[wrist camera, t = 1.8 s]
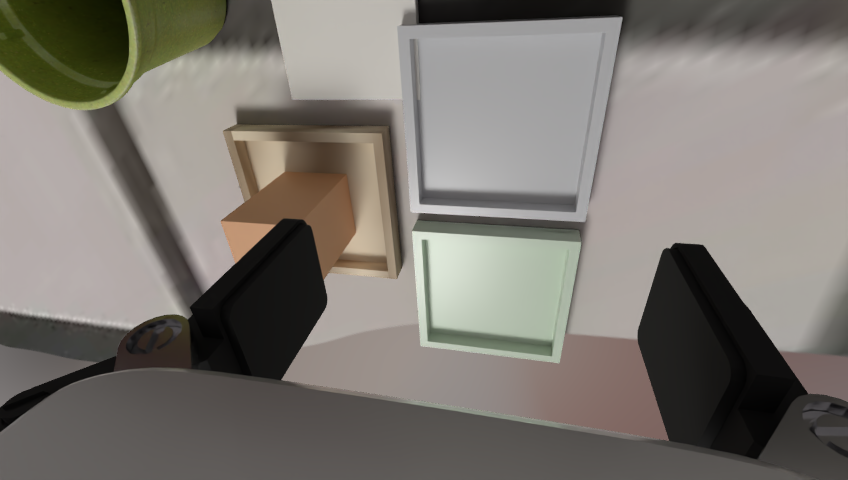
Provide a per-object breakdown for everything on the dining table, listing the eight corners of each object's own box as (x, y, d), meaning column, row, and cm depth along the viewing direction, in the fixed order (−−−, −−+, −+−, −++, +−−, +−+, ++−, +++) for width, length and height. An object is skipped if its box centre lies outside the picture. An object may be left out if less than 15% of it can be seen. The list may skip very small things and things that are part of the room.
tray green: (578, 229, 26) (581, 242, 25) (558, 348, 31) (559, 363, 30) (417, 220, 28) (412, 231, 27) (424, 332, 33) (420, 345, 32)
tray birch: (388, 126, 25) (381, 133, 24) (402, 267, 30) (396, 278, 29) (236, 124, 27) (222, 131, 26) (274, 256, 32) (264, 267, 31)
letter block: (346, 173, 27) (295, 227, 21) (356, 234, 29) (313, 296, 23) (284, 171, 28) (219, 221, 22) (299, 230, 30) (243, 289, 24)
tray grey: (616, 15, 20) (622, 17, 18) (582, 210, 25) (585, 222, 24) (404, 23, 22) (397, 26, 20) (415, 201, 27) (410, 212, 26)
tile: (414, -76, 19) (411, -78, 19) (422, 97, 23) (420, 99, 23) (264, -63, 21) (257, -64, 20) (296, 97, 25) (292, 100, 25)
